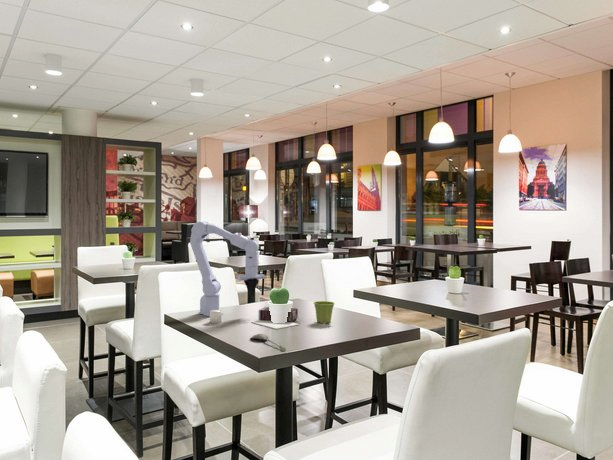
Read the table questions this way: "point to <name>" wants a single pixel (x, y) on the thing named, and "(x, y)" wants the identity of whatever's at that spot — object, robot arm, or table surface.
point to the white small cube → (215, 316)
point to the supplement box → (265, 315)
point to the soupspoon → (264, 337)
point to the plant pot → (324, 311)
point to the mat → (274, 324)
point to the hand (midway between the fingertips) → (251, 295)
